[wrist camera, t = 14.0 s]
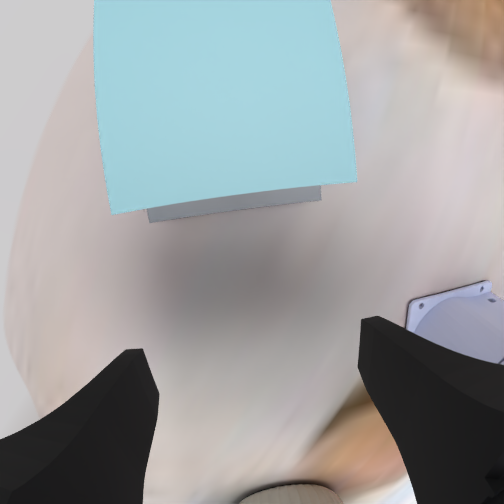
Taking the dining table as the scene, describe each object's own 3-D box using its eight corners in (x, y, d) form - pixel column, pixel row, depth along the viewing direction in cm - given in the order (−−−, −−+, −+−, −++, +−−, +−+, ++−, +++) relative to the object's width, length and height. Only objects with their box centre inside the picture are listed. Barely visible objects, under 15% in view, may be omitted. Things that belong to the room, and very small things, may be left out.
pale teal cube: (284, 39, 9) (322, -30, 4) (302, 169, 11) (357, 181, 6) (146, 57, 9) (94, -1, 4) (161, 188, 11) (111, 214, 6)
